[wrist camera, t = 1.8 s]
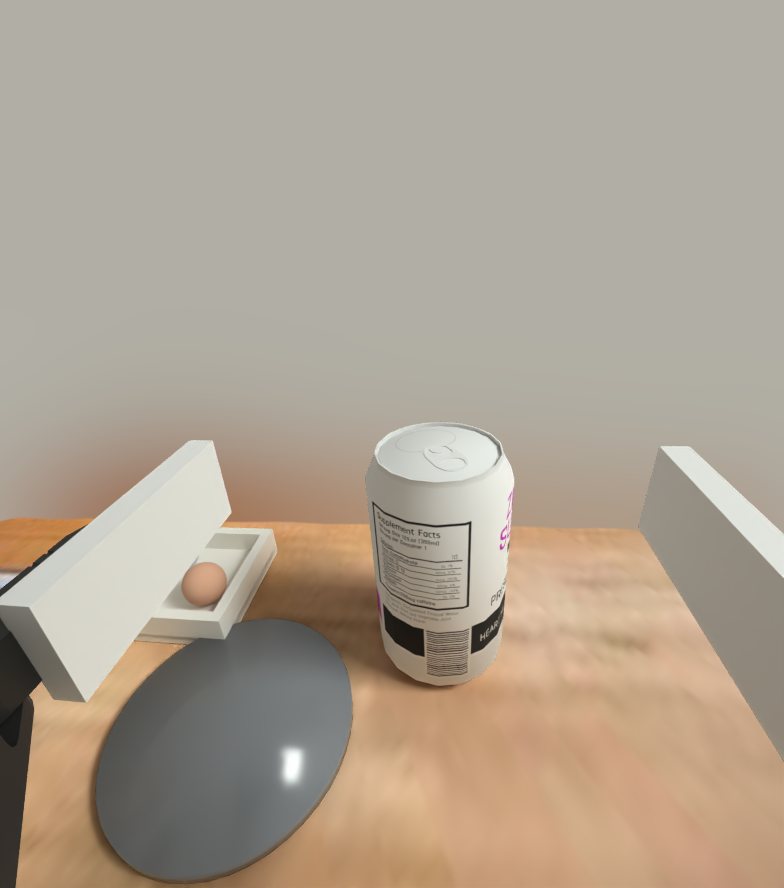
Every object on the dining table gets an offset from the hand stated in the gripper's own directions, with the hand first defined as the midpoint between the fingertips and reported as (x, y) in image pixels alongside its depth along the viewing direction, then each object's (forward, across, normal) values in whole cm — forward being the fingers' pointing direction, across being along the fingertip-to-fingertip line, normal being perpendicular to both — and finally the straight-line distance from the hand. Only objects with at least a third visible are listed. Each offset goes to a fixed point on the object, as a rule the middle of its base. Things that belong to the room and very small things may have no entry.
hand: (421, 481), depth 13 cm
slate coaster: (+3, -12, -19) cm, 22 cm away
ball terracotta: (+11, -18, -17) cm, 27 cm away
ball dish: (+13, -20, -19) cm, 30 cm away
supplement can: (+10, 0, -19) cm, 21 cm away
